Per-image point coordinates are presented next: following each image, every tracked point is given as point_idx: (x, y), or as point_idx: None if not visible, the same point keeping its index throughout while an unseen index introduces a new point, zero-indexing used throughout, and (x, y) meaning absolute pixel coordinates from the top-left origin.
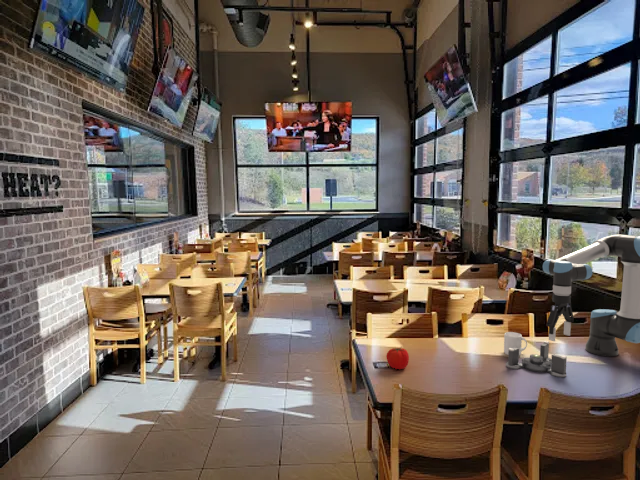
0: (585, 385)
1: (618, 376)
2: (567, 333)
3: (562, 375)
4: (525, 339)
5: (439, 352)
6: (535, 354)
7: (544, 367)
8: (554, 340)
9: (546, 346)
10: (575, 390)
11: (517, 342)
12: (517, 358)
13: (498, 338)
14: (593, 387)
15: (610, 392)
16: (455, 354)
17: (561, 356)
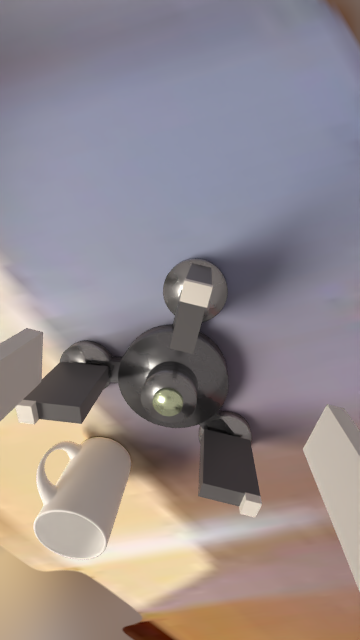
0: (249, 158)
1: (14, 43)
2: (29, 359)
3: (218, 269)
4: (40, 478)
5: (250, 593)
6: (157, 409)
7: (207, 347)
8: (348, 415)
9: (58, 398)
10: (341, 182)
11: (99, 493)
12: (212, 446)
13: (9, 510)
14: (251, 117)
15: (268, 16)
16: (237, 565)
17: (206, 305)
